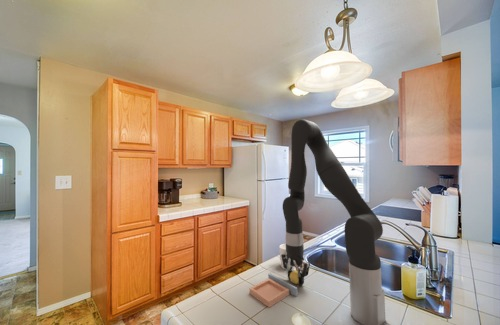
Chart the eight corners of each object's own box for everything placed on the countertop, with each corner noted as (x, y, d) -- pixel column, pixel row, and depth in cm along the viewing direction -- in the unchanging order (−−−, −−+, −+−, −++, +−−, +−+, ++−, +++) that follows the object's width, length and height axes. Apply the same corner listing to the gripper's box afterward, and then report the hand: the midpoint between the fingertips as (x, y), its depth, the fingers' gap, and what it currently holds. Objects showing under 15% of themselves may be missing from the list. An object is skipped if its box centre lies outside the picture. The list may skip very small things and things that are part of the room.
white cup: (294, 263, 107) (294, 243, 108) (296, 270, 99) (296, 249, 100) (279, 262, 108) (278, 243, 108) (280, 270, 100) (279, 249, 100)
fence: (297, 295, 80) (297, 287, 80) (296, 296, 79) (295, 288, 79) (270, 280, 92) (269, 273, 92) (268, 280, 91) (268, 273, 91)
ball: (304, 283, 88) (303, 271, 89) (296, 287, 85) (296, 275, 85) (294, 278, 92) (294, 267, 92) (287, 282, 89) (287, 271, 89)
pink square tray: (289, 294, 81) (289, 289, 81) (269, 307, 74) (269, 301, 74) (269, 283, 89) (269, 278, 89) (249, 293, 82) (249, 288, 82)
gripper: (313, 244, 86) (315, 285, 86) (287, 236, 97) (288, 272, 97) (303, 249, 81) (304, 293, 81) (276, 240, 92) (277, 278, 92)
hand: (295, 281), depth 89 cm, fingers closed on ball, 5 cm apart
